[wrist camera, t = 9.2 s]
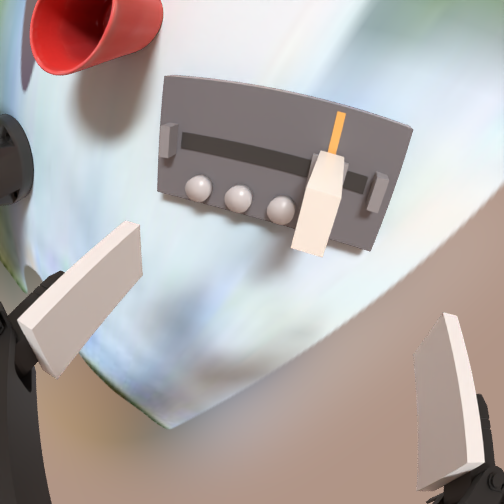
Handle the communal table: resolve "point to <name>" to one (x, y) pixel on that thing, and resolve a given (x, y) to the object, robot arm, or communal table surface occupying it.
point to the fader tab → (320, 203)
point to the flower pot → (90, 31)
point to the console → (275, 152)
